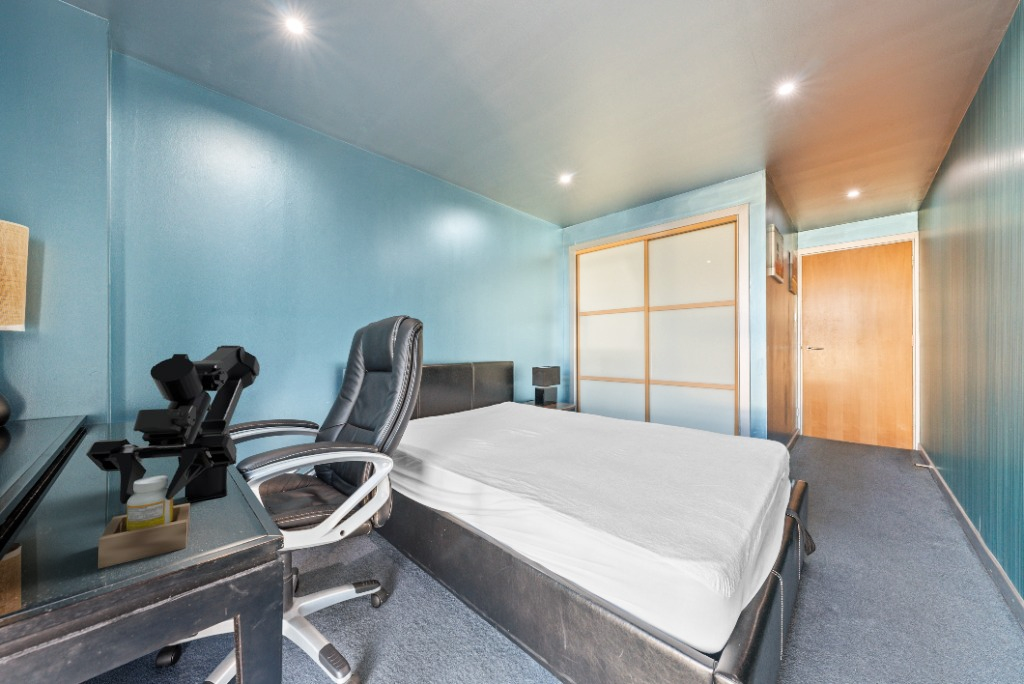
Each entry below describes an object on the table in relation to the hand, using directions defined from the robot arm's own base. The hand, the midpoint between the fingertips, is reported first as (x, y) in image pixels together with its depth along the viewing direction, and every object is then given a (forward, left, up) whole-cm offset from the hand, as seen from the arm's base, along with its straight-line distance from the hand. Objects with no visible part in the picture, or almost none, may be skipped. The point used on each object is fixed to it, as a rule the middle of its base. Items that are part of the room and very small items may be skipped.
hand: (145, 500), depth 59 cm
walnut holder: (0, -1, -7) cm, 7 cm away
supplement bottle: (-1, -1, -7) cm, 7 cm away
